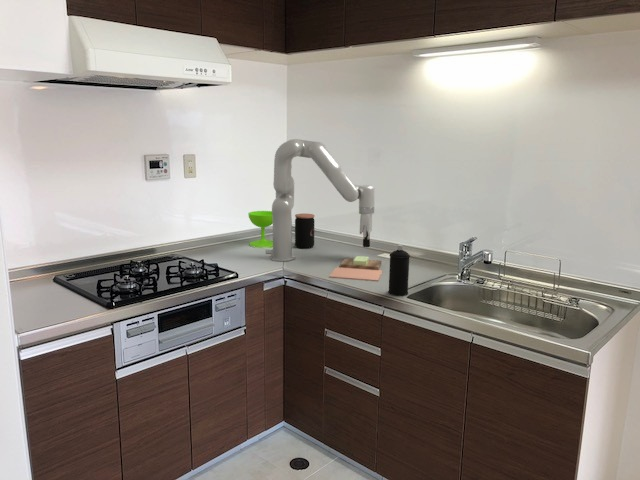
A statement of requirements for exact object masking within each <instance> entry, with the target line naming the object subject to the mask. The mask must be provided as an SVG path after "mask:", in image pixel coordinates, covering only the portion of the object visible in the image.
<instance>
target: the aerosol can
mask: <svg viewBox="0 0 640 480" xmlns="http://www.w3.org/2000/svg"><path fill="white" fill-rule="evenodd" d="M403 249H404V247H403V244H397V249H396V250H393V251H392V252H391V253H390V254H389V272H388V273H389V275H388V290H387V293H388V294H389V295H390V296H395V297H404V296H408V295H409V278H410V277H409V275H410V274H409V272H410V257H411V255H410V254H409V253H408V251H406V250H403Z"/></svg>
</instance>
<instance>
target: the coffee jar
mask: <svg viewBox="0 0 640 480" xmlns="http://www.w3.org/2000/svg"><path fill="white" fill-rule="evenodd" d="M294 217H295V219H294V245H295V247H296V248H297V249H301V250H309V249H313V248H314V246H315V219H314V218H315V214H313V213H297V214H295V215H294Z"/></svg>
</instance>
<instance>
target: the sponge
mask: <svg viewBox="0 0 640 480" xmlns="http://www.w3.org/2000/svg"><path fill="white" fill-rule="evenodd" d="M353 259H354V261H353V265H365V266H366V265H367V263H368V261H369V260H370V257H369V256H364V255H363V256H362V255H360V256H358V255H356V256H355V258H353Z"/></svg>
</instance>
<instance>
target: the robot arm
mask: <svg viewBox="0 0 640 480" xmlns="http://www.w3.org/2000/svg"><path fill="white" fill-rule="evenodd" d="M296 157H300V158H305V159H307V158H308V159H311V160H312V161H313V162H314V163H315V165H316V166H317V167H318V168H319V169H320V170H321V172H322V173H323V174H324V175H325V177H326V178H327V180H328V181H329V182H330V183H331V184H332V185H333V187H334V188H335V190H336V191H337V192H338V193H339V194H340V196H341V197H342V198H343V199H344V200H345V201H346V202H349V203H353V202H356V201H357V200H358V214H359V215H360V218H359V235H362V237H363V238H362V247H363V248H370V247H371V246H370V245H371V239H370V237H371V232H372V228H373V215H374V214H375V187H374V185H372V184H369V185H368V184H363V185H362V184H361V185H358V184H353V183H352V182H351V180H350V179H349V178H348V177H347V175H346V174H345V172H344V170H343V168H342V166H341V165H340V163H339V162H338V161H337V159H335V157H334V156H333V155H332V154H331V152H330V151H329V150H328V149H327V147H326V145H325V144H324V142H320V141H315V140H314V141H313V140H306V139H298V138H294V139H289V140H286V141H284V142H283V143H281V144H280V145H279V146H278V148H277V149H276V151H275V154H274V161H273V162H274V163H273V164H274V165H273V189H274V191H275V199H274V200H273V202H272V205H271V211H272V218H273V224H272V241H273V247H272V249H268V248H267V249H265V254H266V255H270V256H269V259H270V260H271V261H275V262H289V261H294V260H295V258H296V256H295V255H294V254H293V242H292V241H293V227H292V226H293V225H292V224H293V222H292V221H293V219H292V210H293V208H294V205H295V180H294V177H293V176H292V167H293V166H292V161H293V159H294V158H296Z"/></svg>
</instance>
